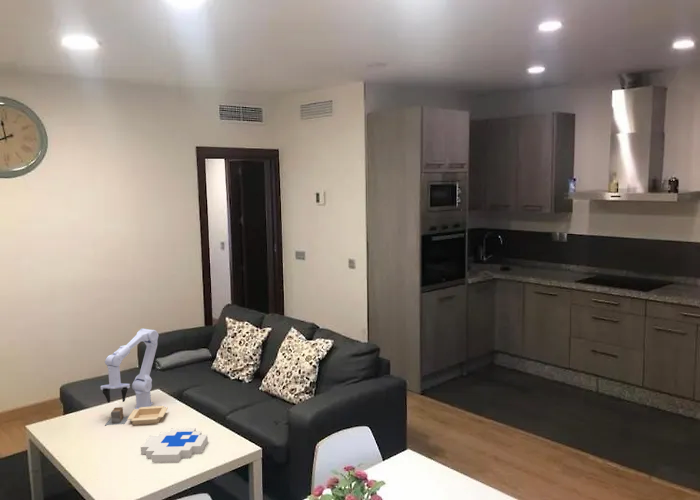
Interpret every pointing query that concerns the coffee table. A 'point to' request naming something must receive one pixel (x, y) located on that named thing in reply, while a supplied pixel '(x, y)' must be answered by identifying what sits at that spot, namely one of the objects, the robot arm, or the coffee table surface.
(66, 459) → the coffee table surface
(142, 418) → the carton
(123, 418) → the slate mat
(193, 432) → the pixel art tile
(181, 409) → the coffee table surface
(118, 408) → the walnut block
